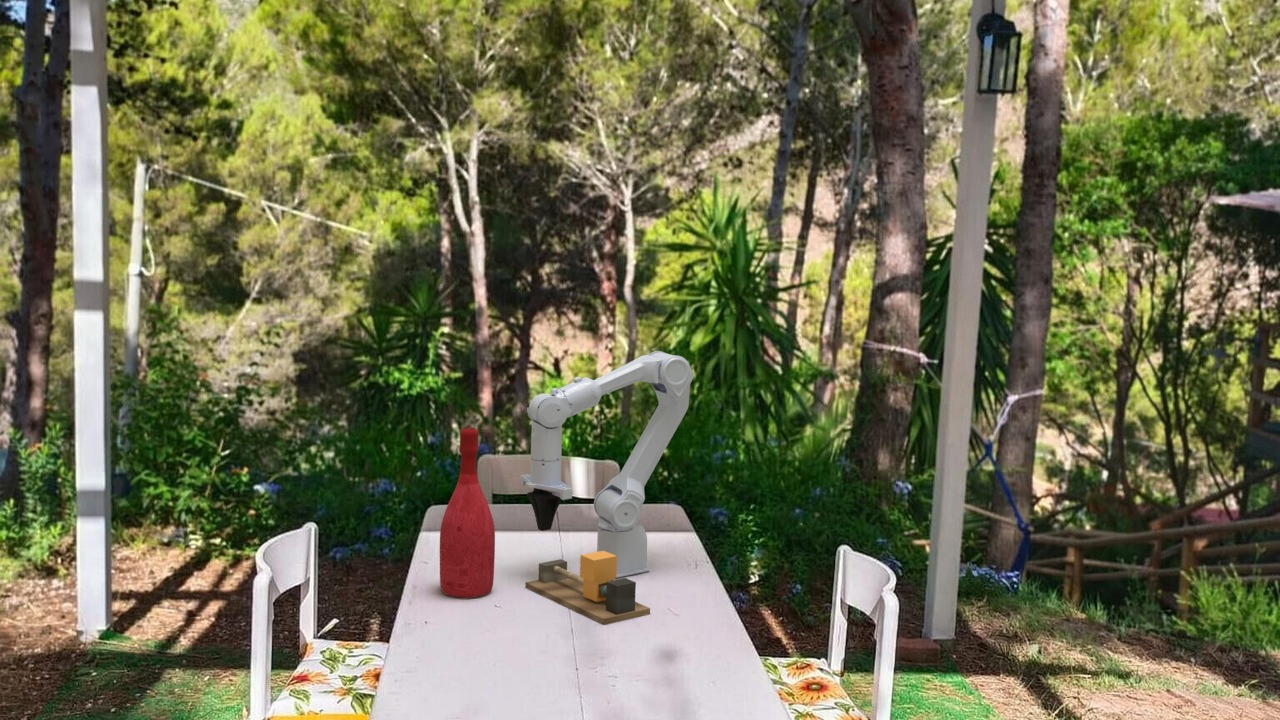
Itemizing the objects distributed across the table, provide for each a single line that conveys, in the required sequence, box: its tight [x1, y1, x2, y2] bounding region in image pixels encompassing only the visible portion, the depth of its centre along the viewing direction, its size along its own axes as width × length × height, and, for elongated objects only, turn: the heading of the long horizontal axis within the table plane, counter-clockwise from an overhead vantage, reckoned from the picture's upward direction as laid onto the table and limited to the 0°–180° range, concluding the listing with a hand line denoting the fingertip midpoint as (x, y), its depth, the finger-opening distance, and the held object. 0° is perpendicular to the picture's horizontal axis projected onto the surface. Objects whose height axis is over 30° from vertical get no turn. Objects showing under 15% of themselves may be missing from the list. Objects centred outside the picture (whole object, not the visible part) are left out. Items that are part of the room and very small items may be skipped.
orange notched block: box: [579, 551, 617, 602], centre depth 196 cm, size 4×5×8 cm
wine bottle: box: [439, 427, 496, 599], centre depth 201 cm, size 10×10×30 cm
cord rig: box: [525, 558, 651, 626], centre depth 199 cm, size 24×10×6 cm, turn 39°
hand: (544, 529), depth 211 cm, fingers closed
